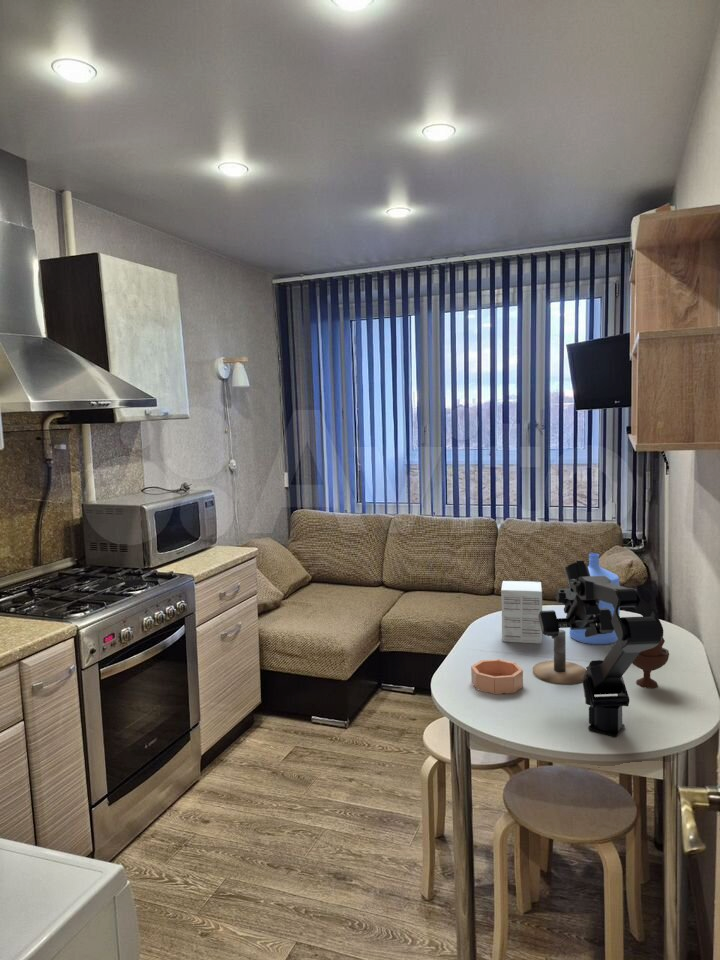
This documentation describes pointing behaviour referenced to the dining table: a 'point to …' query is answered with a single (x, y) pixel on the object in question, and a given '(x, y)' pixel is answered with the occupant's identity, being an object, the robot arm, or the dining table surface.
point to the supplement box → (521, 611)
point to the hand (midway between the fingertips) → (568, 636)
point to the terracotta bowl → (497, 676)
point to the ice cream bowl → (651, 663)
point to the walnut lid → (559, 665)
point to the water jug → (604, 638)
